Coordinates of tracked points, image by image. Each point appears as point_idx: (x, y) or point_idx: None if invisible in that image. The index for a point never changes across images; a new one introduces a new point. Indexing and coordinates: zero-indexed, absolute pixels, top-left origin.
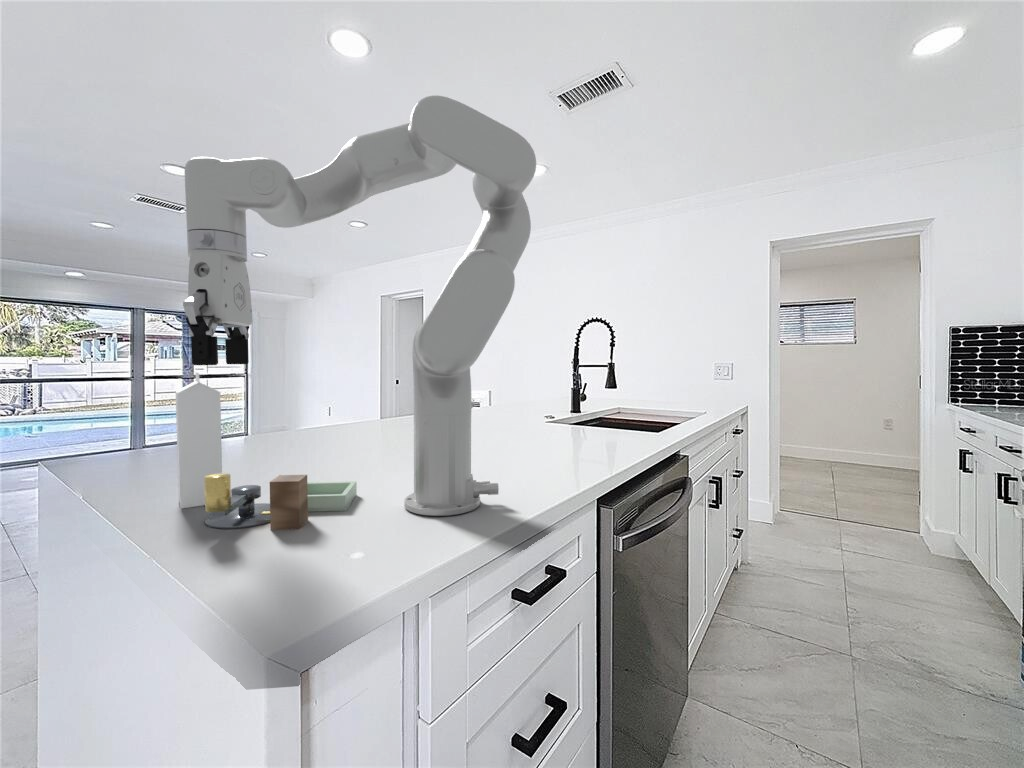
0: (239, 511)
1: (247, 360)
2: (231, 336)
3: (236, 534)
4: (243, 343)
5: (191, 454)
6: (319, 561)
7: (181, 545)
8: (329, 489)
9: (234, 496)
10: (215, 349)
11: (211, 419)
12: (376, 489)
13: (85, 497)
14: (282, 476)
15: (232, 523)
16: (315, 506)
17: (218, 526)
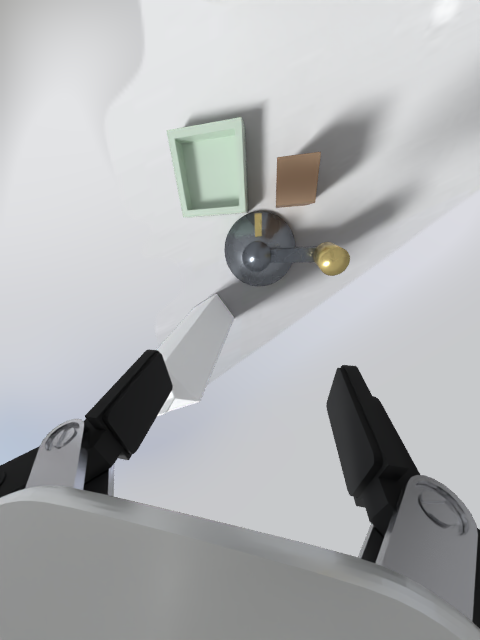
0: None
1: (149, 354)
2: (112, 460)
3: (312, 237)
4: (120, 407)
5: (217, 336)
6: (443, 76)
7: None
8: (185, 178)
9: (278, 259)
10: (376, 406)
11: (190, 345)
12: (143, 111)
13: (208, 383)
14: (284, 197)
15: None
16: (245, 173)
17: (291, 262)
